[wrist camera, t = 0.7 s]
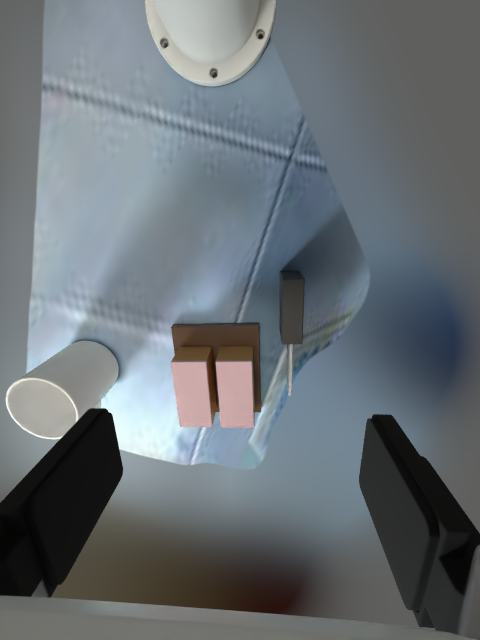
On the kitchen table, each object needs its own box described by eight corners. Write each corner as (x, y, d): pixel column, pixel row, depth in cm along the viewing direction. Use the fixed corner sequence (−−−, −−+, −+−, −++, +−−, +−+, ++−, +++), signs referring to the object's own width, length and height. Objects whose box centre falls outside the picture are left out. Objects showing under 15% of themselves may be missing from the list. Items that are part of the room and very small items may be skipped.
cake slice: (220, 346, 39) (215, 361, 35) (252, 345, 39) (251, 361, 35) (224, 406, 43) (220, 427, 38) (254, 406, 42) (254, 427, 38)
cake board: (173, 324, 40) (171, 326, 39) (258, 322, 39) (258, 325, 38) (184, 407, 44) (182, 411, 44) (260, 408, 44) (260, 412, 43)
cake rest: (180, 346, 40) (170, 362, 36) (211, 346, 39) (205, 361, 35) (187, 406, 43) (179, 426, 39) (216, 406, 43) (212, 427, 39)
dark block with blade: (279, 271, 36) (282, 279, 32) (298, 270, 36) (304, 278, 31) (279, 379, 42) (281, 400, 37) (295, 379, 41) (300, 400, 37)
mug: (83, 409, 46) (33, 462, 36) (56, 341, 42) (-8, 381, 32) (133, 404, 45) (97, 459, 35) (111, 335, 41) (63, 374, 31)
